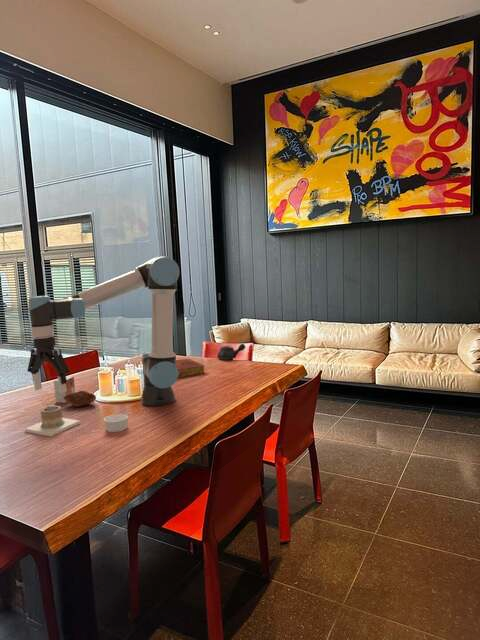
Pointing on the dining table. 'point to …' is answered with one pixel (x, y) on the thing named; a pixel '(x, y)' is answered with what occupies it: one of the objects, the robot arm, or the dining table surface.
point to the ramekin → (116, 422)
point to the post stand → (55, 429)
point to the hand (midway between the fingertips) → (50, 390)
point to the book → (188, 367)
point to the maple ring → (51, 417)
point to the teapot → (229, 352)
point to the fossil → (80, 398)
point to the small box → (60, 396)
